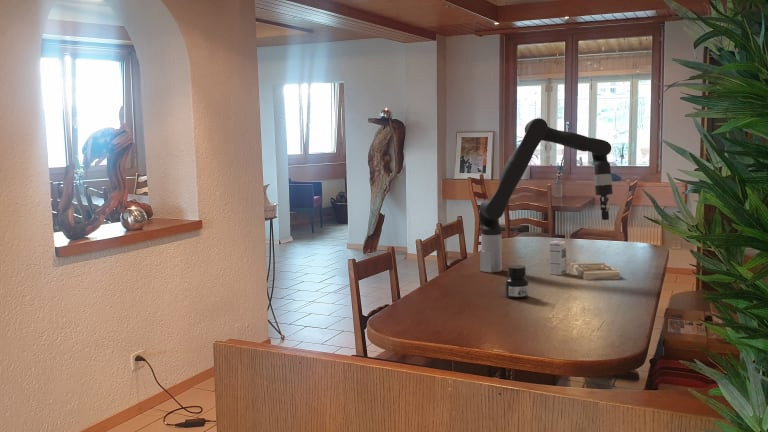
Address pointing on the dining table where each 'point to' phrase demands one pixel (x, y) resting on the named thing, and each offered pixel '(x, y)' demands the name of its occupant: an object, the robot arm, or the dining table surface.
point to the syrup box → (557, 257)
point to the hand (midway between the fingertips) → (605, 219)
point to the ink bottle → (516, 282)
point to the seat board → (594, 271)
